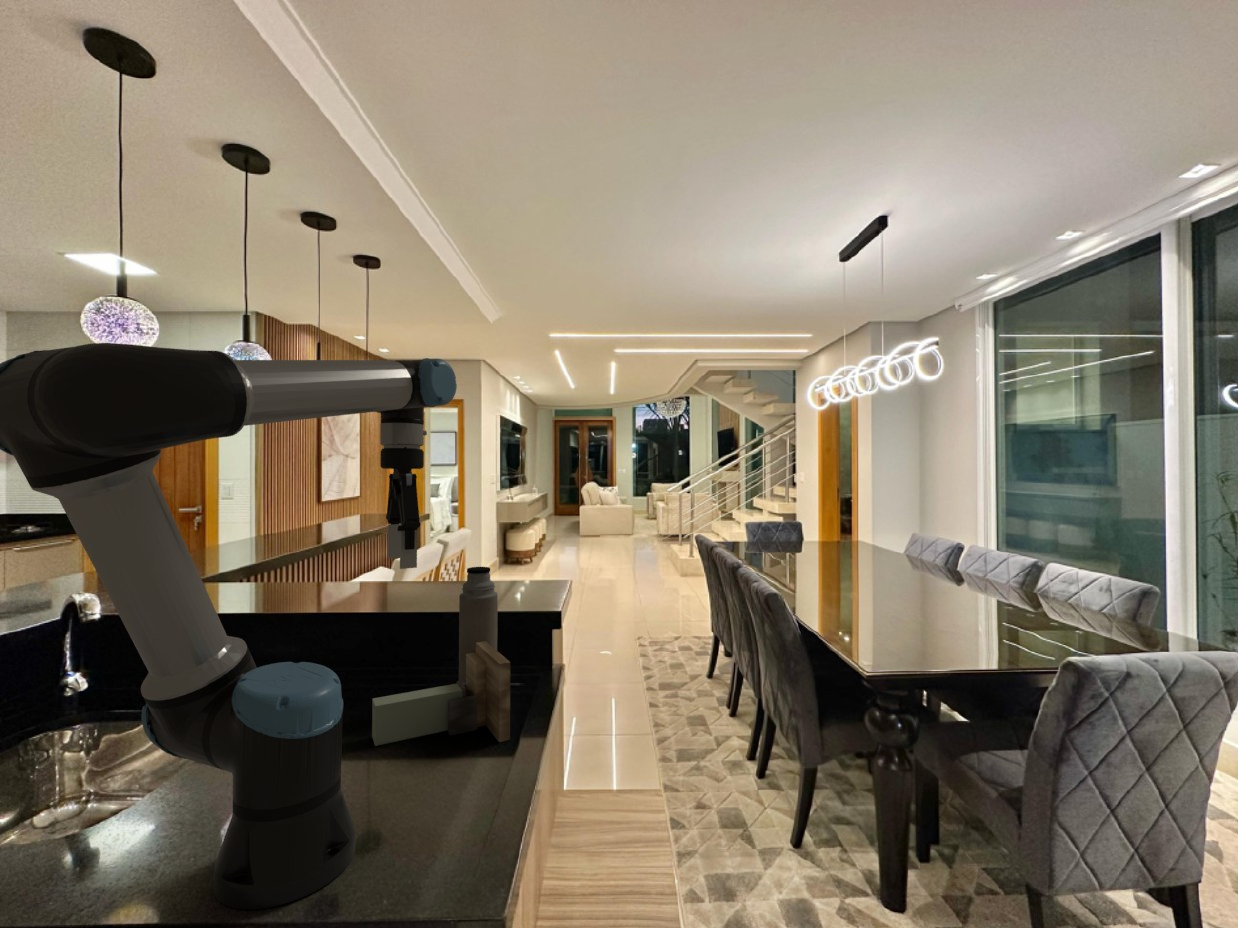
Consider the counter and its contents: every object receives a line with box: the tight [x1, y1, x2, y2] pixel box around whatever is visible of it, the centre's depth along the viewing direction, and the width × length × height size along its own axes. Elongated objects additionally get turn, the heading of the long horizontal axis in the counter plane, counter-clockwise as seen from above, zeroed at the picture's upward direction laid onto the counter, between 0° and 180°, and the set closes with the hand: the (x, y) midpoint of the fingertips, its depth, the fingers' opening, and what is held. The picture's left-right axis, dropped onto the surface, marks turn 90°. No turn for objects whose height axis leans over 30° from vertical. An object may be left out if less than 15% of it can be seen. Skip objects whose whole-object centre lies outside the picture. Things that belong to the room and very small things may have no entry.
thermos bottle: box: [458, 566, 499, 684], centre depth 124 cm, size 8×8×28 cm
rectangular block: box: [371, 680, 466, 747], centre depth 108 cm, size 16×4×7 cm, turn 120°
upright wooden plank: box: [447, 641, 511, 743], centre depth 110 cm, size 9×16×14 cm, turn 30°
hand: (401, 562), depth 107 cm, fingers open, 13 cm apart
